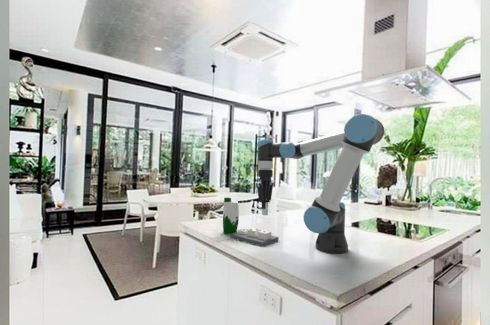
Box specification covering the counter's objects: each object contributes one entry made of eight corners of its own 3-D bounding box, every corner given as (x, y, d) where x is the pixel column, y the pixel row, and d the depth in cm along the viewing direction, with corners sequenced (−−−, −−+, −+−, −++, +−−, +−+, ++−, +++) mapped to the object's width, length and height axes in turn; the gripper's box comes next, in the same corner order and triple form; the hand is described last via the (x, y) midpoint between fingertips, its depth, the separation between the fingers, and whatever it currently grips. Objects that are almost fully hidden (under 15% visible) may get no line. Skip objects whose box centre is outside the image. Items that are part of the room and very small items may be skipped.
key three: (250, 236, 151) (250, 229, 151) (244, 238, 147) (244, 231, 147) (243, 234, 154) (243, 228, 154) (237, 236, 150) (237, 229, 150)
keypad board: (278, 240, 144) (278, 237, 144) (262, 246, 133) (262, 242, 133) (246, 233, 158) (246, 229, 158) (229, 237, 148) (229, 234, 148)
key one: (271, 238, 142) (271, 231, 142) (265, 240, 138) (265, 233, 138) (263, 236, 145) (263, 229, 145) (257, 238, 141) (257, 231, 141)
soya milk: (223, 230, 164) (224, 197, 164) (238, 230, 164) (239, 197, 164) (221, 234, 155) (222, 198, 155) (237, 234, 155) (238, 199, 155)
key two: (260, 236, 146) (260, 229, 146) (254, 237, 142) (254, 230, 142) (253, 234, 149) (253, 227, 149) (247, 236, 146) (247, 229, 146)
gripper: (266, 169, 149) (266, 212, 149) (251, 169, 139) (251, 215, 139) (278, 169, 144) (277, 214, 144) (263, 169, 135) (263, 217, 134)
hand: (264, 214), depth 141 cm, fingers closed
